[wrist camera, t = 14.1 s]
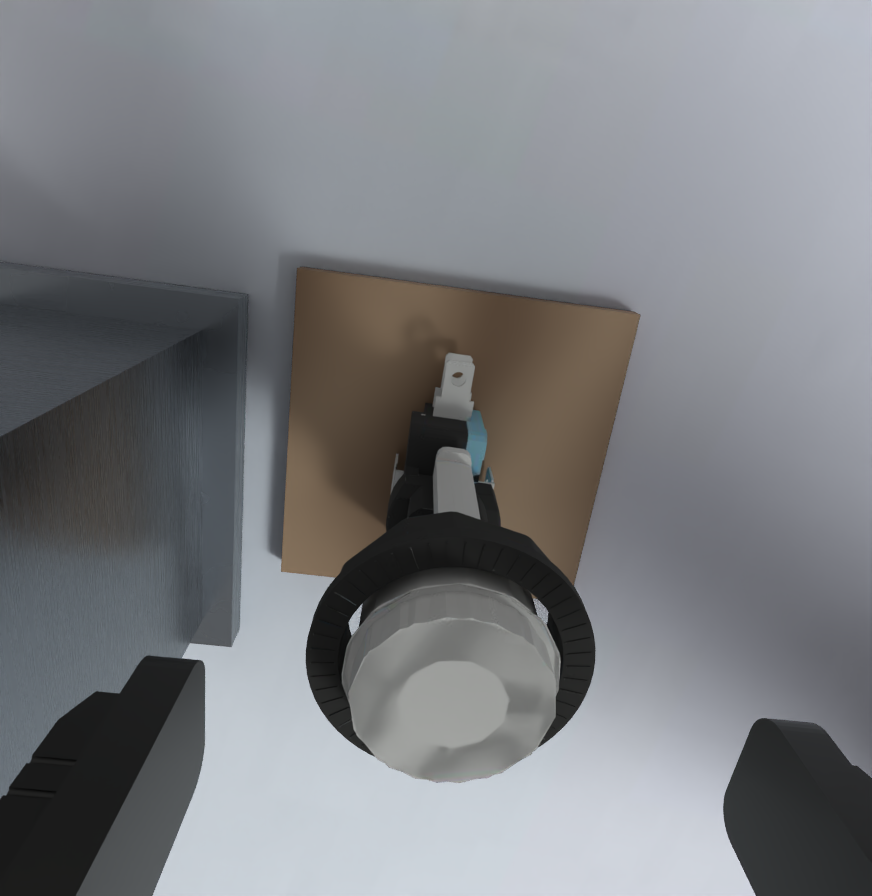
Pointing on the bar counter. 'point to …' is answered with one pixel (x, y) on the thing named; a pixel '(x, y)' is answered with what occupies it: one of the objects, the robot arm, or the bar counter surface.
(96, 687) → the block
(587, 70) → the bar counter surface
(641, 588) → the bar counter surface
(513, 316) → the plate
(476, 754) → the push button
